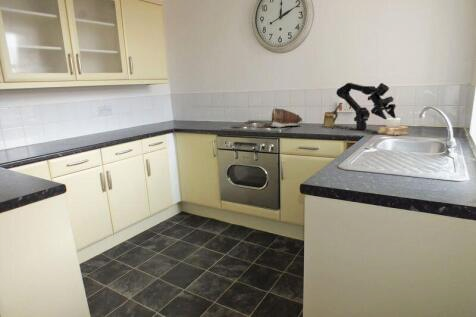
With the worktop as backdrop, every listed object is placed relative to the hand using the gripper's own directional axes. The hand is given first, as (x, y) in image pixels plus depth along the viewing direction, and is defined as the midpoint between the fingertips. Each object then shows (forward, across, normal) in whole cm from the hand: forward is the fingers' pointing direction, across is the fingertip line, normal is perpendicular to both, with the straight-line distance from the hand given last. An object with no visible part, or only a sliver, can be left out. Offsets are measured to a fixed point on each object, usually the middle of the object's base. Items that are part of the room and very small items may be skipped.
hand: (390, 118), depth 212 cm
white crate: (+8, 0, +4) cm, 9 cm away
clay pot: (-43, -30, +58) cm, 79 cm away
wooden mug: (-27, -4, +42) cm, 50 cm away
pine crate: (+9, 0, +5) cm, 10 cm away
